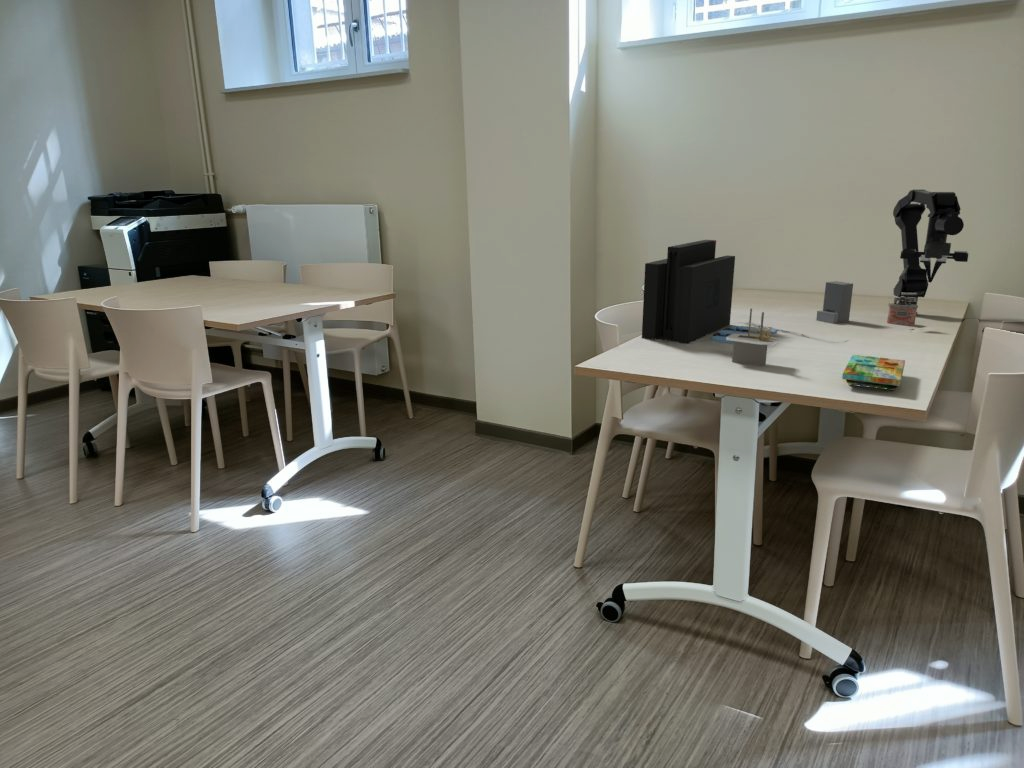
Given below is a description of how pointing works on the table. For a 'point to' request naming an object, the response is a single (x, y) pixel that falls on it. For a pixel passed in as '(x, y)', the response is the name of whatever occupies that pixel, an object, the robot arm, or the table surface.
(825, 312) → the header
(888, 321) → the lighter
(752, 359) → the architectural model
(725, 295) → the game console
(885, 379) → the puzzle game
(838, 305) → the plug
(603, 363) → the table surface
